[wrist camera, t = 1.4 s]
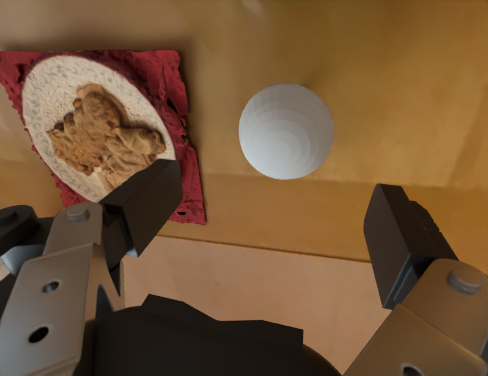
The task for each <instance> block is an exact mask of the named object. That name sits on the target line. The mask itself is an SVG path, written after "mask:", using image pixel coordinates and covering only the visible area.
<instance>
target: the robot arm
mask: <svg viewBox="0 0 488 376" xmlns="http://www.w3.org/2000/svg"><path fill="white" fill-rule="evenodd" d="M182 198H183V188H182V181H181V174H180V167H179V163H178V162H177V161H176V160H171V159H162V158H159V159H157V160H156V161H154V162H153V163H152V164H151V165H150V166H148V167H147V168H145V169H143V170H141V171H138V172H136V173H135V174H133V175H132V176H131V177H129V178H128V180H126V181H124V182H123V183H122V184H121V186H118V187H117V188H115V189H114V190H113V191H112V192H110V193H109V194H108V195H106V196H105V197H104V198H103V199H101V200H100V201H99V202H82V203H78V204H74V205H72V206H69V207H67V208H65V209H63V210H62V211H60V212H59V213H58V214H57V215H56V216H55V217H47V218H38V217H37V215H36V213H35V212H34V210H33V208H32V207H31V206H27V205H17V206H11V207H7V208H4V209H1V210H0V259H1V260H2V262H3V263H4V265H5V266H6V267H7V269H8V270H9V271H10V273H9V274H8V275H7V276H6V277H4V278H3V279H2V280H1V281H0V376H342V375H341V374H340V373H339V371H338V370H337V369H336V368H335V367H334V366H333V365H332V364H331V363H330V362H329V361H327V360H326V359H325V358H324V357H323V356H321V355H320V354H319V353H317V352H316V351H314V350H313V349H312V348H310V347H308V346H306V345H304V344H303V330H302V329H298V328H294V327H289V326H285V325H281V324H277V323H272V322H268V321H264V320H243V321H218V320H215V319H213V318H211V317H210V316H208V315H206V314H204V313H202V312H201V311H199V310H197V309H195V308H193V307H192V306H190V305H188V304H186V303H185V302H182V301H178V300H173V299H169V298H165V297H160V296H156V295H152V294H148V296H147V298H146V299H145V301H144V302H143V304H142V305H141V306H134V307H128V308H125V295H124V269H123V262H122V258H123V257H124V256H125V255H129V256H134V257H139V256H140V255H141V253H142V252H143V251H144V249H145V248H146V247H147V246H148V244H149V243H150V242H151V241H152V239H153V238H154V237H155V235H156V234H157V233H158V232H159V230H160V229H161V228H162V227H163V225H164V224H165V223H166V222H167V220H168V219H169V218H170V216H171V215H172V214H173V213H174V211H175V210H176V209H177V208H178V206H179V205H180V203H181V201H182ZM364 235H365V239H366V243H367V247H368V251H369V255H370V259H371V263H372V267H373V271H374V275H375V279H376V283H377V287H378V291H379V295H380V299H381V303H382V307H383V308H385V309H390V310H392V312H391V313H390V314H389V315H388V317H387V318H386V319H385V321H384V322H383V323H382V325H381V326H380V327H379V329H378V330H377V331H376V333H375V334H374V335H373V336H372V338H371V339H370V340H369V342H368V343H367V344H366V346H365V347H364V348H363V350H362V351H361V352H360V354H359V355H358V356H357V357H356V359H355V360H354V361H353V363H352V364H351V365H350V367H349V368H348V369H347V371H346V372H345V373H344V375H343V376H488V276H487V275H485V274H484V273H483V272H481V271H480V270H478V269H476V268H474V267H473V266H471V265H468V264H466V263H463V262H461V261H459V260H458V258H457V257H456V255H455V253H454V252H453V250H452V249H451V247H450V246H449V244H448V242H447V241H446V239H445V238H444V236H443V235H442V233H441V232H439V228H438V227H437V225H436V224H435V223H434V220H433V219H432V217H431V216H430V214H429V213H428V211H427V210H426V209H424V208H423V207H422V206H421V205H419V204H418V203H417V202H416V201H409V199H408V197H407V195H406V194H405V192H404V190H403V188H402V187H401V186H396V185H387V184H377V185H376V186H375V188H374V191H373V194H372V197H371V200H370V203H369V206H368V209H367V212H366V215H365V219H364Z"/></svg>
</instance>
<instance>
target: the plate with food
mask: <svg viewBox="0 0 488 376" xmlns="http://www.w3.org/2000/svg"><path fill="white" fill-rule="evenodd" d="M179 63H180V58H179V54H178V52H176V51H174V50H149V51H146V52H140V53H137V52H133V51H132V50H95V51H83V50H81V51H76V52H63V51H0V83H1V84H2V85H3V86H4V87H5V89H6V92H7V93H8V94H9V100H12V101H13V106H12V107H13V108H14V109H16V110H18V114H20V116H21V118H20V119H21V120H22V122H23V125H24V126H26V128H24V130H25V131H28V133H29V134H30V137H31V141H33V143H34V144H33V145H32V149H31V150H34V151H35V152H37V154H38V153H39V154H40V156H41V157H40V159H43V161H44V163H45V165H47V166H48V167H49V170H50V171H51V173H52V174H51V176H53V177H54V179H55V181H56V187H57V188H59V189H62V190H63V191H62V192H61V194H60V195H61V196H60V197H61V198H62V201H63V205H64V206H65V207H69V206H72V205H74V204H78V203H82V202H99V201H100V200H101V199H103V198H104V197H105V196H106V195H108V194H109V193H110V192H112V191H113V190H114V189H115V188H117V187H118V186H121V184H122V183H123V182H124V181H126V180H128V178H129V177H131V176H132V175H133V174H135V173H136V172H138V171H141V170H143V169H145V168H147V167H148V166H150V165H151V164H152V163H153V162H154V161H156V160H157V159H159V158H162V159H171V160H176V161H177V162H178V163H179V167H180V174H181V181H182V188H183V198H182V201H181V203H180V205H179V206H178V208H177V209H176V210H175V211H174V213H173V214H172V215H171V216H170V218H169V219H168V220H171V221H176V222H181V223H185V222H187V223H195V224H202V225H205V226H206V223H205V221H206V219H205V215H204V208H203V206H202V202H203V197H202V190H201V185H200V179H199V178H200V177H199V171H198V163H197V157H196V153H195V151H194V149H193V148H192V146H191V145H190V143H189V141H188V140H187V139H186V138H184V139H185V141H184V140H183V139H182V137H181V136H182V134H183V135H186V131H185V130H184V129H183V128H182V127H185V125H186V124H185V120H184V119H182V116H184V115H185V114H188V113H189V111H188V104H187V97H186V93H185V85H184V83H183V82H182V80H181V76H180V74H179V71H178V67H179ZM167 98H170V100H171V101H172V102H173V105H175V106H176V109H177V113H176V112H174V111H173V110H172V109H171V108H169V107H170V106H168V105H167V101H166V100H167ZM178 113H179V114H180V115H182V116H179V114H178ZM177 212H185V213H186V215H179V214H178V213H177Z"/></svg>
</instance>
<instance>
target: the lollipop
mask: <svg viewBox="0 0 488 376" xmlns="http://www.w3.org/2000/svg"><path fill="white" fill-rule="evenodd" d="M333 134H334V128H333V120H332V117H331V114H330V111H329V110H328V108H327V106H326V105H325V103H324V102H323V101H322V100H321V98H320V97H319V96H318V95H317V94H315V93H314V92H312V91H311V90H310V89H308V88H305V87H303V86H301V85H297V84H292V83H278V84H274V85H270V86H268V87H266V88H263V89H261V90H260V91H259V92H257V93H256V94H255V95H254V96H253V97H252V98H251V99H250V100H249V101H248V103H247V105H246V106H245V108H244V110H243V112H242V115H241V118H240V122H239V140H240V144H241V147H242V151H243V153H244V155H245V157H246V159H247V160H248V161H249V163H250V164H251V165H252V166H253V167H254V168H255V169H256V170H258V171H259V172H261V173H262V174H264V175H266V176H269V177H272V178H276V179H294V178H299V177H303V176H306V175H308V174H310V173H312V172H313V171H315V170H316V169H317V168H318V167H320V166H321V164H322V163H323V162H324V161H325V160H326V158H327V156H328V154H329V153H330V150H331V146H332V143H333Z"/></svg>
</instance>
